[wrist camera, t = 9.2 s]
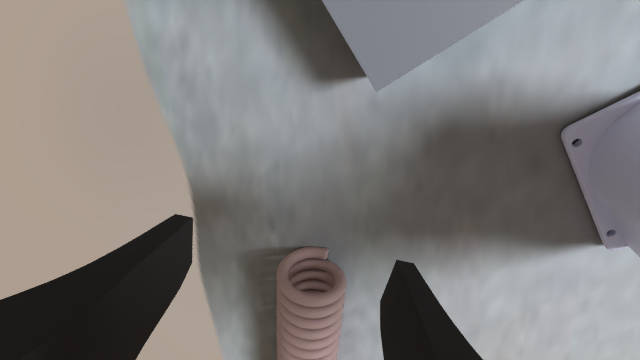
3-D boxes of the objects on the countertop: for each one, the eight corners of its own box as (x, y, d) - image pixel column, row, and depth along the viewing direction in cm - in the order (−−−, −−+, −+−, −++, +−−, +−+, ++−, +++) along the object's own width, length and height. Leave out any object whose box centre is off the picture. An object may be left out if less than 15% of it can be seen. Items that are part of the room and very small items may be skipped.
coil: (330, 449, 29) (351, 294, 20) (274, 449, 29) (272, 292, 20) (328, 392, 33) (344, 244, 25) (279, 392, 33) (279, 242, 24)
